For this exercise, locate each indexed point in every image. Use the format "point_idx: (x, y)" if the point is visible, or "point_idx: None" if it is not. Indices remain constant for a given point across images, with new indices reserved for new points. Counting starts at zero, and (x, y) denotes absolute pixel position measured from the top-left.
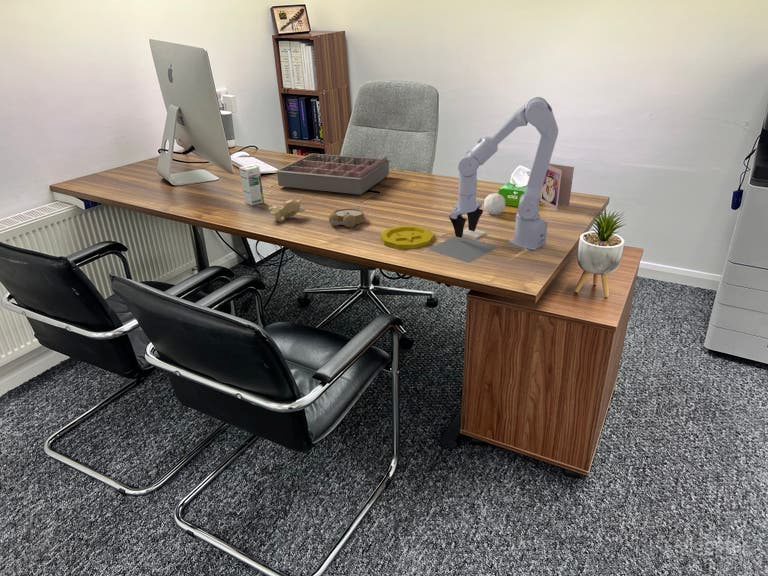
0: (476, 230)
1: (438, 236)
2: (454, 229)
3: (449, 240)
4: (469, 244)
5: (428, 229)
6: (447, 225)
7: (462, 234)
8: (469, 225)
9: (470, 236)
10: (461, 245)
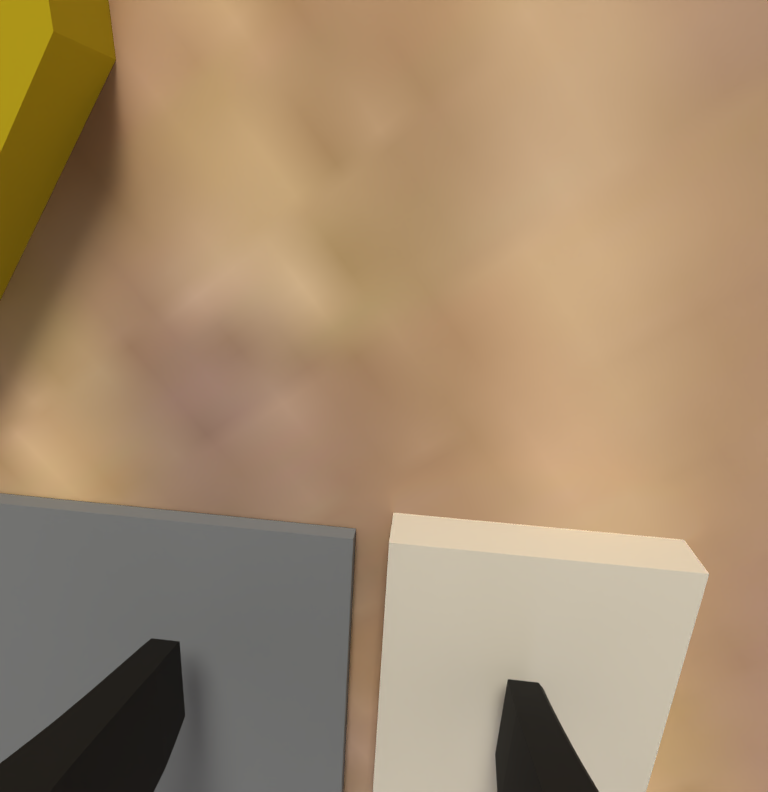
0: (616, 721)
1: (143, 293)
2: (50, 728)
3: (93, 548)
4: (176, 780)
5: (31, 35)
6: (735, 88)
7: (155, 772)
8: (522, 760)
9: (377, 721)
10: None
